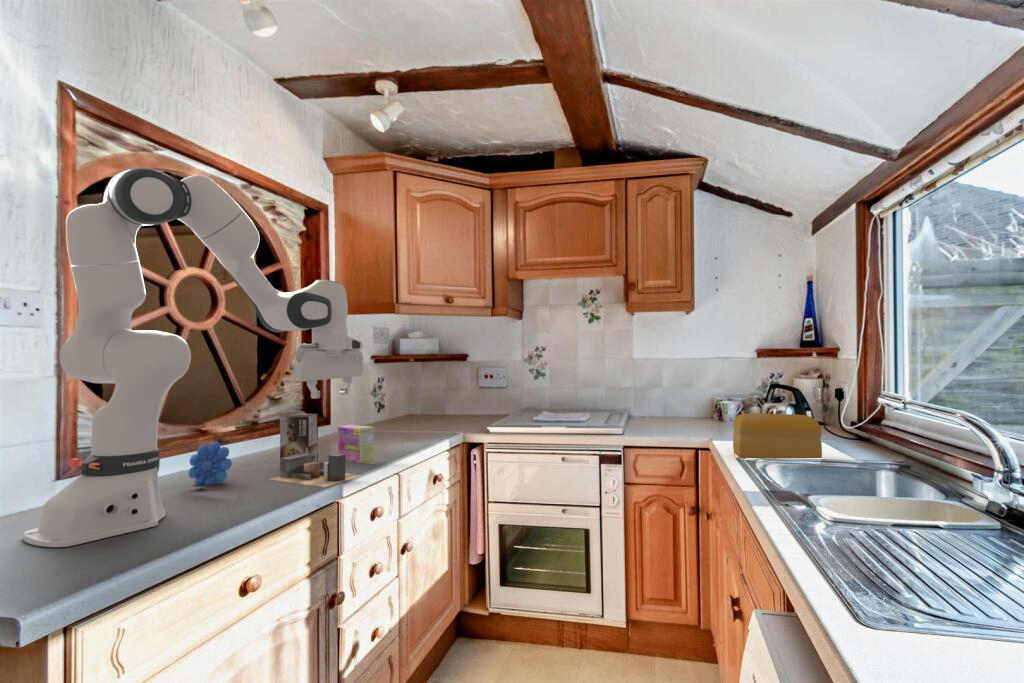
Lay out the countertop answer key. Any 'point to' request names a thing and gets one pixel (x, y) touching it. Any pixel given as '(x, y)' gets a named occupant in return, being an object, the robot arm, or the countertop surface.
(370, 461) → the box
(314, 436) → the coffee box
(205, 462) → the grapes
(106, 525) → the robot arm
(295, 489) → the countertop surface
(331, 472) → the ram handle
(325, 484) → the bench
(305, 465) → the nut puck
